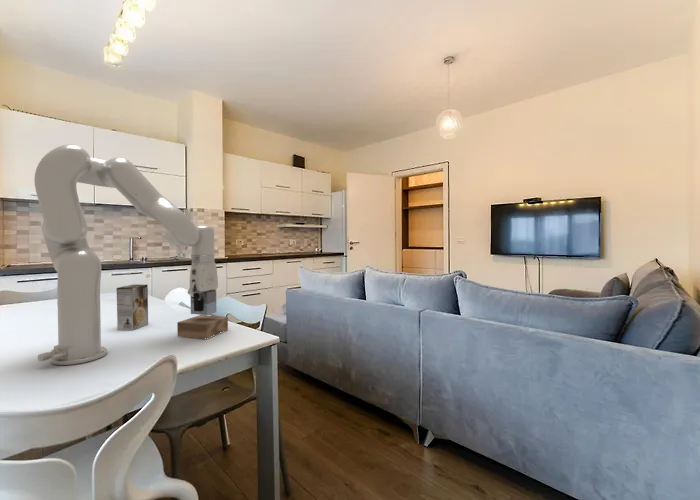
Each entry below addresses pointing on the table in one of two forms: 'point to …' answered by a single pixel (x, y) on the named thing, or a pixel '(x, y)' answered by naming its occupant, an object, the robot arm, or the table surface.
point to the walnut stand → (202, 326)
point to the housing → (206, 303)
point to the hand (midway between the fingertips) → (203, 308)
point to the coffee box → (132, 307)
